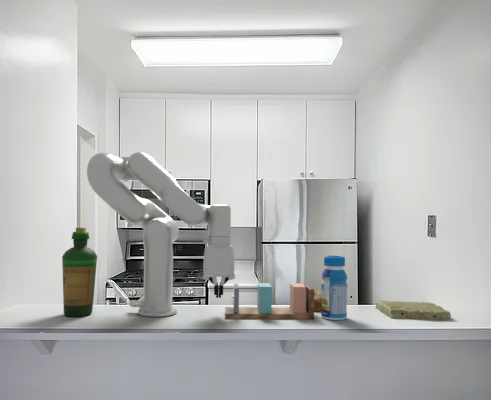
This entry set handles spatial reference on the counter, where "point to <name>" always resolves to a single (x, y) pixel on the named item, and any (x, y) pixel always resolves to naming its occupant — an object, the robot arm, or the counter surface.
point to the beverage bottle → (334, 289)
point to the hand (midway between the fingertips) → (218, 297)
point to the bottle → (79, 276)
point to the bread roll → (317, 301)
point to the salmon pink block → (298, 298)
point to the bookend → (236, 298)
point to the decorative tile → (413, 310)
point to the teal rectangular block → (264, 298)
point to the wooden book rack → (274, 310)
